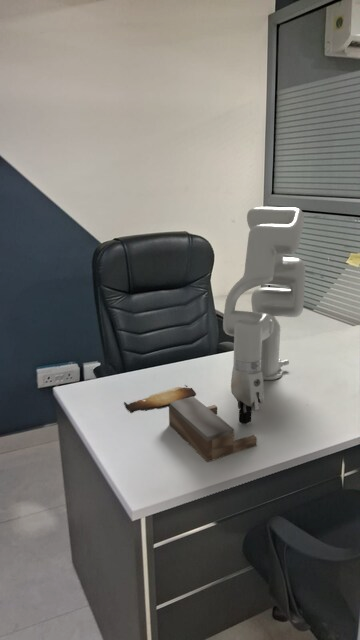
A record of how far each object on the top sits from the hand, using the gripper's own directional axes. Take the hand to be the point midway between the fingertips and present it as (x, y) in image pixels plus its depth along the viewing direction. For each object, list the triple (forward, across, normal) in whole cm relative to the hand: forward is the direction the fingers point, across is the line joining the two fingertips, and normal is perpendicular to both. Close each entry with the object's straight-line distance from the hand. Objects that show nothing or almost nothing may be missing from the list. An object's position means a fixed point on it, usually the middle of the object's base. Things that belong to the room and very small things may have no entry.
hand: (245, 421), depth 139 cm
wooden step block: (+1, 0, +12) cm, 12 cm away
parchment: (+1, +26, +14) cm, 29 cm away
